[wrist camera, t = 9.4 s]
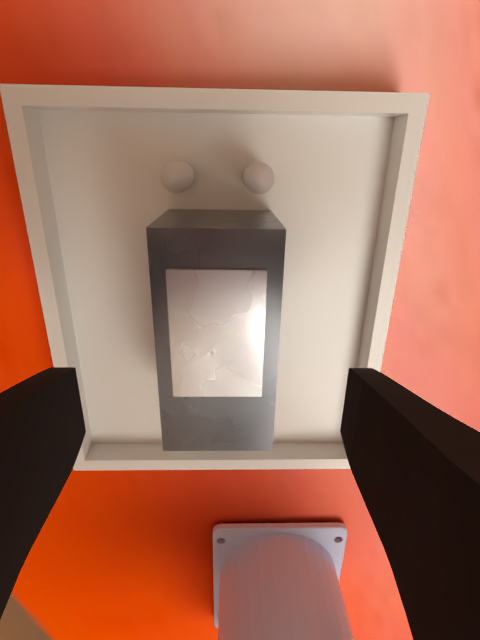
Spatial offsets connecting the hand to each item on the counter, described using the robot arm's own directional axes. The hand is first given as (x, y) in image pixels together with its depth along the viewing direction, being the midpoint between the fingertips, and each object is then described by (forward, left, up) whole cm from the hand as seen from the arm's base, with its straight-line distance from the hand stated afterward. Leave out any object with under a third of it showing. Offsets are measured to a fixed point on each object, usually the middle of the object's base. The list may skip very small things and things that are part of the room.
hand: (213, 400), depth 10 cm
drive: (0, 0, -7) cm, 7 cm away
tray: (0, 0, -8) cm, 8 cm away
